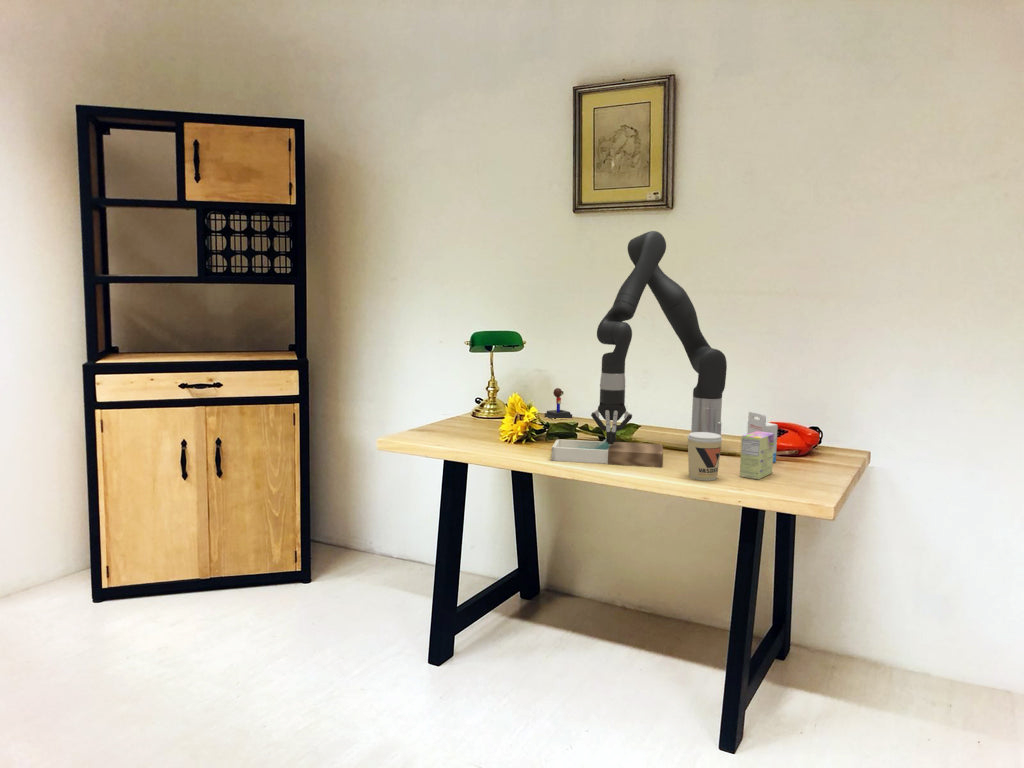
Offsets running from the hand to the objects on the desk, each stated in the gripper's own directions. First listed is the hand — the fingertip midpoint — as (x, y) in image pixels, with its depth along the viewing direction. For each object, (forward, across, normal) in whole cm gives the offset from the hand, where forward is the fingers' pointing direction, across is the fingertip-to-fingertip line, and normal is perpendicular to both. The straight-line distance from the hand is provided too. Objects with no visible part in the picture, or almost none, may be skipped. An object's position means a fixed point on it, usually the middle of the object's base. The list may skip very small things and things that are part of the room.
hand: (610, 443), depth 233 cm
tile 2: (+2, +2, -1) cm, 3 cm away
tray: (+5, +8, 0) cm, 10 cm away
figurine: (+5, +24, -69) cm, 74 cm away
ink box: (+5, -46, -10) cm, 47 cm away
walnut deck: (+5, -8, 0) cm, 9 cm away
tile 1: (+2, +8, -1) cm, 8 cm away
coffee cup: (+5, -27, +16) cm, 31 cm away
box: (+5, -42, +10) cm, 43 cm away
